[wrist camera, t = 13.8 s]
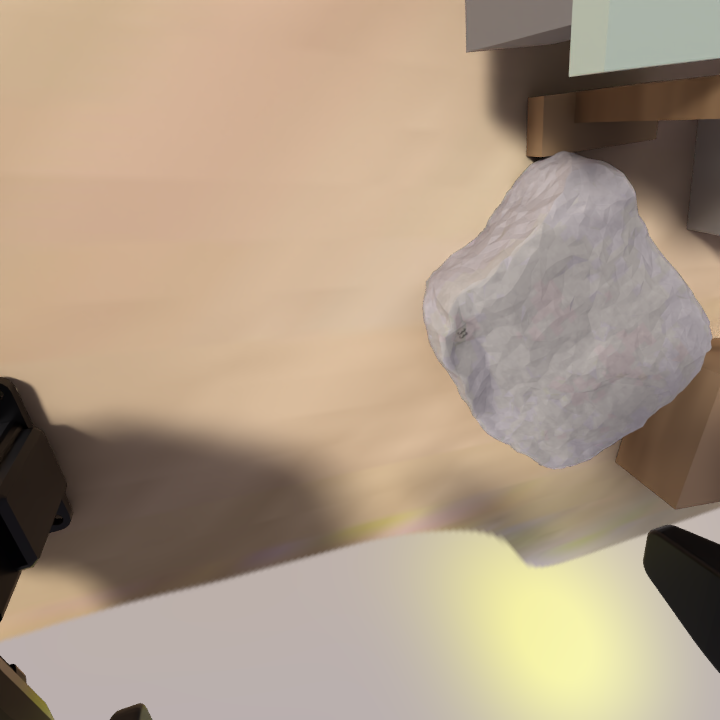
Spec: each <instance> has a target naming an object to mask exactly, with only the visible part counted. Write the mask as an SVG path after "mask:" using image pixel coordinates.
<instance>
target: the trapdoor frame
mask: <svg viewBox="0 0 720 720" xmlns="http://www.w3.org/2000/svg"><path fill="white" fill-rule="evenodd" d="M694 119H720V75H713V76H704V77H695V78H687V79H678V80H669V81H655V82H646V83H638V84H631V85H623V86H615V87H608V88H600V89H592V90H585V91H577V92H570V93H562V94H554V95H547V96H539V97H531V98H528V112H527V153H526V156H532V157H546V156H552V155H555V154H556V153H558V152H561V151H566V152H578V151H584V150H590V149H597V148H603V147H609V146H616V145H622V144H628V143H635V142H641V141H647V140H654V139H656V136H657V128H658V120H694Z"/></svg>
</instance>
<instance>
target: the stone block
mask: <svg viewBox="0 0 720 720" xmlns="http://www.w3.org/2000/svg"><path fill="white" fill-rule="evenodd" d="M423 319H424V323H425V325H426V329H427V334H428V339H429V342H430V345H431V347H432V349H433V351H434V353H435V355H436V357H437V359H438V360H439V362H440V363H441V364H442V366H443V367H444V368H445V369H446V370H447V372H448V373H449V375H450V377H451V378H452V380H453V381H454V383H455V384H456V386H457V389H458V392H459V394H460V396H461V398H462V399H463V400H464V401H465V402H466V403H467V404H468V406H469V408H470V410H471V412H472V415H473V416H474V417H475V419H477V421H478V423H479V424H480V426H481V427H482V428H483V430H484V431H485V432H486V433H487V434H488V435H490V436H492V437H493V438H495V439H497V440H499V441H501V442H503V443H505V444H509V445H510V446H511V447H512V448H513V449H514V450H515V451H517V452H519V453H522V454H525V455H527V456H529V457H530V458H532V459H533V460H534V461H536V462H537V463H539V465H542V466H545V467H547V468H551V469H562V468H565V467H567V466H569V467H571V466H573V465H576V464H579V463H582V462H585V461H587V460H590V459H592V458H593V457H594V456H595V455H597V454H599V453H600V452H601V451H602V450H603V449H605V448H607V447H609V446H611V445H612V444H614V443H616V442H617V441H618V440H620V439H621V438H622V437H624V436H626V435H628V434H630V433H631V432H633V431H635V430H637V429H639V428H641V427H643V426H644V424H645V423H646V421H647V419H648V418H649V417H651V416H652V415H653V414H655V413H656V412H657V411H658V410H659V409H660V408H662V407H663V406H665V405H667V404H669V403H670V402H672V401H673V400H674V398H675V397H676V396H677V395H678V394H679V393H680V392H682V391H683V390H684V389H685V388H686V387H687V385H688V384H689V383H690V382H691V381H692V380H693V378H694V377H695V376H696V375H697V374H698V373H699V371H700V370H701V367H702V365H703V362H704V358H705V355H706V352H708V351H710V349H711V348H712V347H711V340H712V334H711V329H710V327H709V326H710V321H709V319H708V317H707V315H706V314H705V312H704V310H703V308H702V307H701V305H700V304H699V302H698V301H697V300H696V298H695V296H694V294H693V292H692V291H691V289H690V288H689V287H688V285H687V284H686V283H685V281H684V280H683V279H682V277H681V276H680V274H679V273H678V272H677V271H676V269H675V268H674V267H673V266H672V265H671V264H670V263H669V262H668V261H667V259H666V258H665V257H664V256H663V254H662V253H661V252H660V251H659V249H658V248H657V246H656V245H655V244H654V242H653V241H652V239H651V237H650V236H649V233H648V230H647V227H646V225H645V223H644V221H643V220H642V219H641V217H640V216H639V214H638V209H637V200H636V192H635V190H634V188H633V186H632V185H631V183H630V182H629V181H628V179H627V178H626V176H625V175H624V173H622V172H621V171H619V170H618V169H616V168H615V167H613V166H612V165H610V164H609V163H607V162H604V161H600V160H594V159H589V158H586V157H583V156H580V155H578V154H576V153H571V152H566V151H561V152H558V153H556V154H555V155H552V156H546V157H544V158H542V159H540V160H538V161H536V162H534V163H532V164H530V165H529V167H528V168H527V169H526V170H525V171H524V172H523V173H522V174H521V175H520V177H519V178H518V179H517V180H516V181H515V183H514V184H513V186H512V188H511V189H510V190H509V191H508V192H507V193H506V195H505V197H504V199H503V201H502V202H501V204H500V205H499V206H498V207H497V209H496V210H495V211H494V213H493V214H492V216H491V217H490V218H489V220H488V222H487V225H486V227H485V229H484V230H483V231H482V232H481V233H480V234H479V235H478V236H477V237H476V238H475V239H474V240H472V241H471V242H470V243H469V244H467V245H466V246H465V247H463V248H462V249H460V250H458V251H456V252H455V253H453V254H452V255H451V256H450V257H449V258H448V259H447V260H446V261H445V262H444V263H443V264H442V265H441V266H440V267H439V268H438V269H437V270H436V271H434V272H433V273H432V275H431V276H430V277H429V279H428V280H427V281H426V291H425V295H424V301H423Z"/></svg>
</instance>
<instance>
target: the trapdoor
mask: <svg viewBox="0 0 720 720" xmlns="http://www.w3.org/2000/svg"><path fill="white" fill-rule="evenodd" d="M465 9H466V52H476V51H486V50H497V49H508V48H518V47H529V46H539V45H550V44H555V43H559V42H564V41H568V40H571V44H570V62H569V77H573V76H581V75H589V74H598V73H606V72H614V71H623V70H631V69H639V68H647V67H656V66H664V65H672V64H680V63H689V62H697V61H705V60H713V59H720V0H465Z"/></svg>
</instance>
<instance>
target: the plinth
mask: <svg viewBox="0 0 720 720" xmlns="http://www.w3.org/2000/svg"><path fill="white" fill-rule="evenodd" d="M711 347H712V348H711V349H710V351H708V352H706V355H705V358H704V362H703V365H702V367H701V370H700V371H699V373H698V374H697V375H696V376H695V377H694V378H693V380H692V381H691V382H690V383H689V384H688V385H687V387H686V388H685V389H684V390H683V391H682V392H680V393H679V394H678V395H677V396H676V397H675V398H674V400H673V401H672V402H670V403H669V404H667V405H665V406H663V407H662V408H660V409H659V410H658V411H657V412H656V413H655V414H653V415H652V416H651V417H649V418H648V419H647V421H646V423H645V424H644V426H643V427H641V428H639V429H637V430H635V431H633V432H631V433H630V434H628V435H626V436H624V437H623V438H622V441H621V445H620V448H619V452H618V455H617V458H616V463H617V464H618V465H620V466H621V467H622V468H623V469H625V470H626V471H627V472H629V473H630V474H631V475H632V476H634V477H635V478H636V479H637V480H639V481H640V482H641V483H642V484H644V485H645V486H646V487H647V488H649V489H650V490H651V491H653V492H654V493H655V494H656V495H658V496H659V497H660V498H661V499H663V500H664V501H665V502H666V503H668V504H669V505H670V506H671V507H673V508H674V509H680V508H686V507H692V506H697V505H703V504H709V503H714V502H720V338H715V339H712V340H711Z"/></svg>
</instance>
